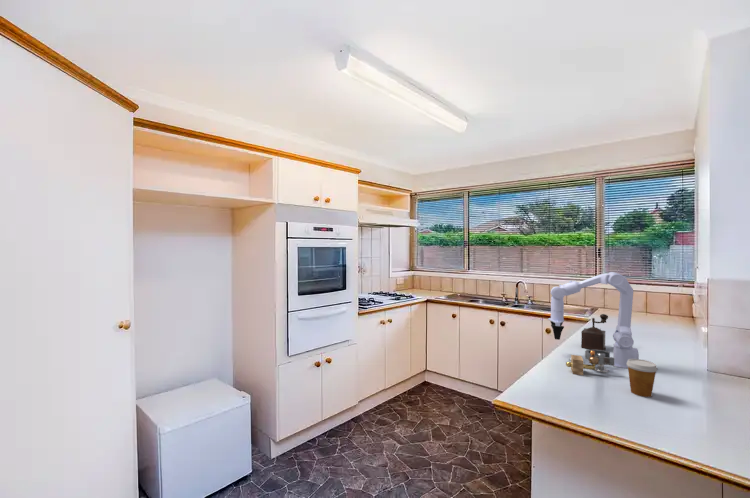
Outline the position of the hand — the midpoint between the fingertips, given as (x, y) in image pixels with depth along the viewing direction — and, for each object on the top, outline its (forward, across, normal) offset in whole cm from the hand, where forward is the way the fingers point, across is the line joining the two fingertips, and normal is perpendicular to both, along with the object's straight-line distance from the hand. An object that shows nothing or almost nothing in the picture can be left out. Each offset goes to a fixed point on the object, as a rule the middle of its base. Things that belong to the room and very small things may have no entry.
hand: (556, 337), depth 175 cm
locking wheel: (+6, +11, +16) cm, 21 cm away
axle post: (+10, +11, +17) cm, 23 cm away
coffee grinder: (+10, -30, +20) cm, 37 cm away
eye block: (+10, +19, +7) cm, 22 cm away
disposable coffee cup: (+10, +33, +27) cm, 44 cm away
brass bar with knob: (+8, +19, +9) cm, 22 cm away
